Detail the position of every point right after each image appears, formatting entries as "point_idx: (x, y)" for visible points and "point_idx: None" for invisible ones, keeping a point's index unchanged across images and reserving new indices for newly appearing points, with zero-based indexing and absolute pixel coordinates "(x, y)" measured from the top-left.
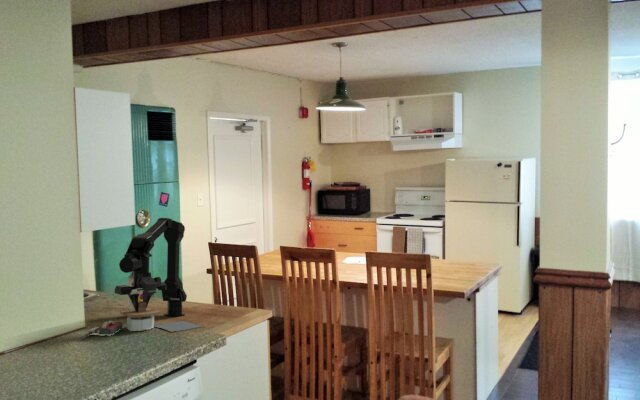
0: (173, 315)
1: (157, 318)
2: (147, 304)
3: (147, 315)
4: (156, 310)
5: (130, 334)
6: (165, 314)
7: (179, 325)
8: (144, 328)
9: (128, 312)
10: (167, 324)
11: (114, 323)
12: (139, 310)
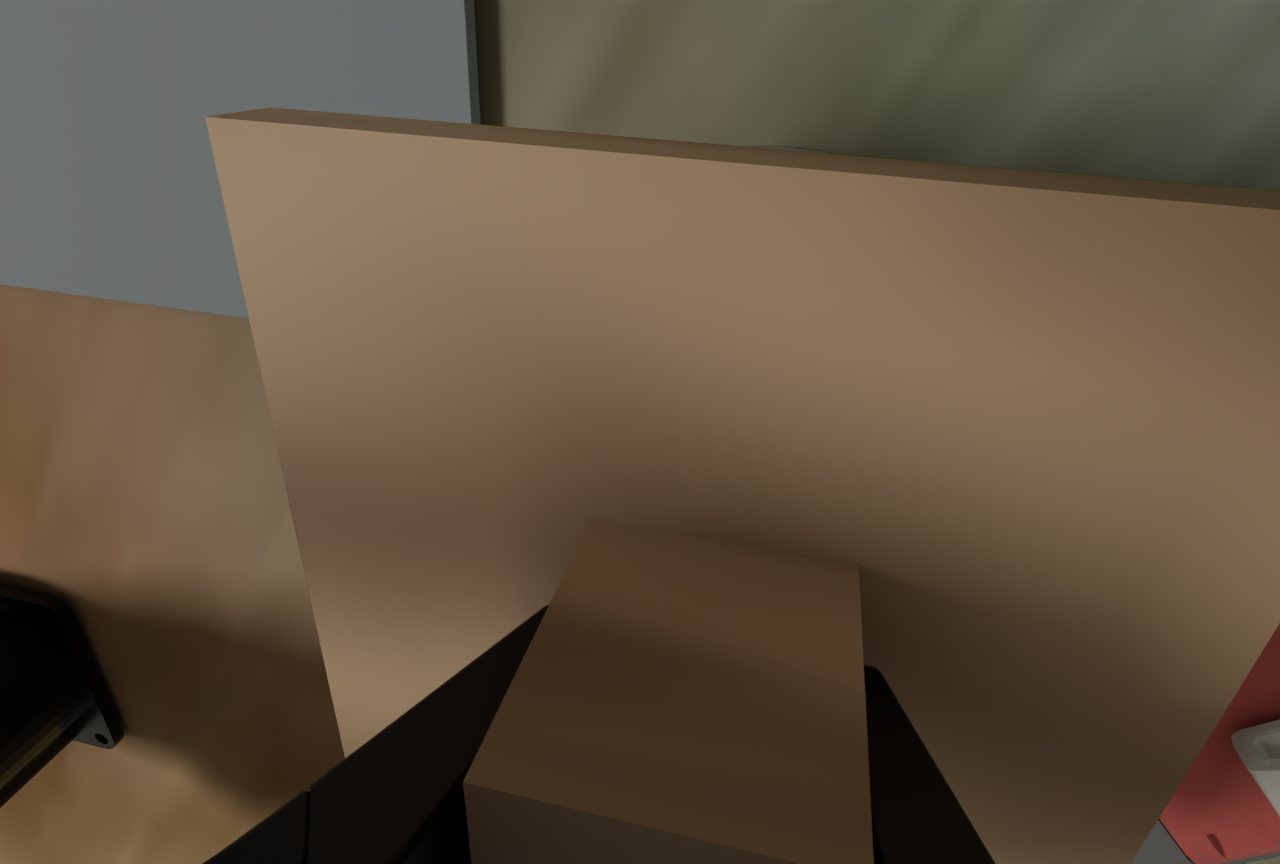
0: (30, 619)
1: (241, 688)
2: (432, 706)
3: (797, 155)
4: (281, 397)
5: (1263, 144)
6: (107, 721)
7: (76, 2)
8: None
9: (1069, 778)
10: None
11: (1212, 734)
12: (840, 607)
